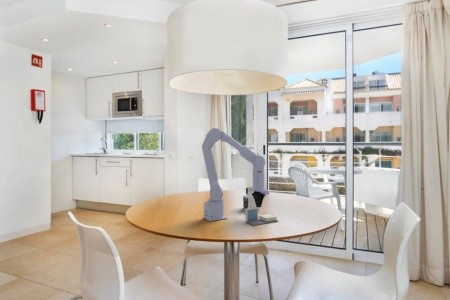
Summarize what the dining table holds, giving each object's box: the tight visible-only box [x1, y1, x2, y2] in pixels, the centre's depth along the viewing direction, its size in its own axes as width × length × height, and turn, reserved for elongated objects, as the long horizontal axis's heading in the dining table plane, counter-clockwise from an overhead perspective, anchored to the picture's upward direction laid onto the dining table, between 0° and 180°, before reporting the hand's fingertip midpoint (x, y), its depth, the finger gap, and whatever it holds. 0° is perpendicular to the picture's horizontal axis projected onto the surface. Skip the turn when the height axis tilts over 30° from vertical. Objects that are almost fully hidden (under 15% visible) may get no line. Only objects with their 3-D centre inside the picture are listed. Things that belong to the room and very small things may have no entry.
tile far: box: [258, 213, 278, 222], centre depth 135 cm, size 6×2×6 cm
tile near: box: [244, 207, 259, 223], centre depth 135 cm, size 6×2×6 cm, turn 119°
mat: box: [245, 218, 279, 227], centre depth 132 cm, size 14×6×1 cm, turn 119°
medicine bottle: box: [242, 186, 261, 211], centre depth 160 cm, size 7×7×12 cm
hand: (258, 207), depth 141 cm, fingers closed
